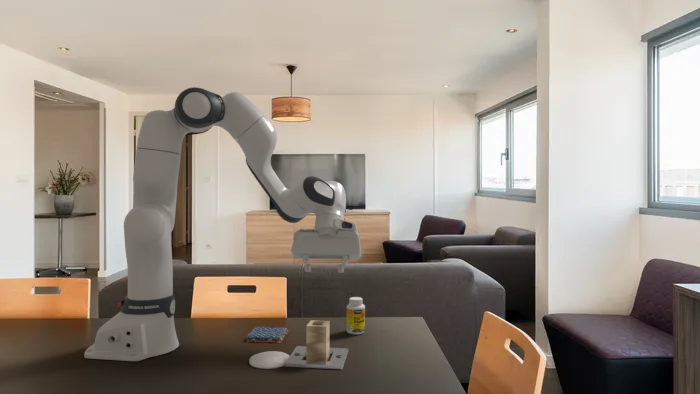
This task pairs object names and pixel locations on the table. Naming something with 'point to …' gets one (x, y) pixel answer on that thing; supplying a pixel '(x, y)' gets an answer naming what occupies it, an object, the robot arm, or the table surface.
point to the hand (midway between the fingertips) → (323, 271)
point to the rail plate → (335, 362)
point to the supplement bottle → (355, 316)
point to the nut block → (317, 340)
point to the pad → (268, 360)
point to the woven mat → (267, 334)
